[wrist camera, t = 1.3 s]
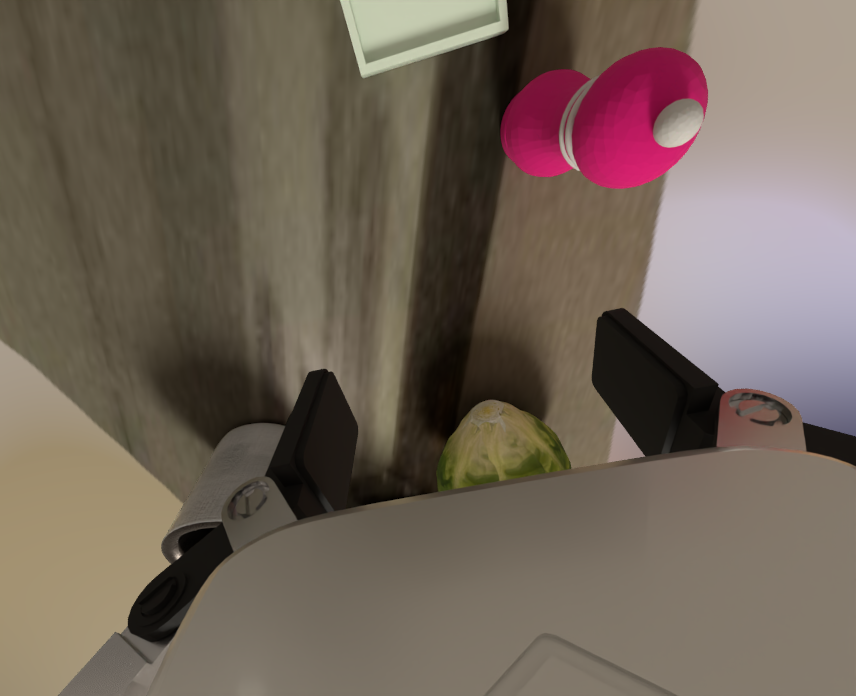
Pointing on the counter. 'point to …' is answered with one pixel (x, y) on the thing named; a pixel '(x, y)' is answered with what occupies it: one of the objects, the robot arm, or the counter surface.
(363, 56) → the tray
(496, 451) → the lettuce
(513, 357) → the counter surface
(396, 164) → the counter surface
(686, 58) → the pepper mill
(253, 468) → the planter
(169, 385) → the counter surface
